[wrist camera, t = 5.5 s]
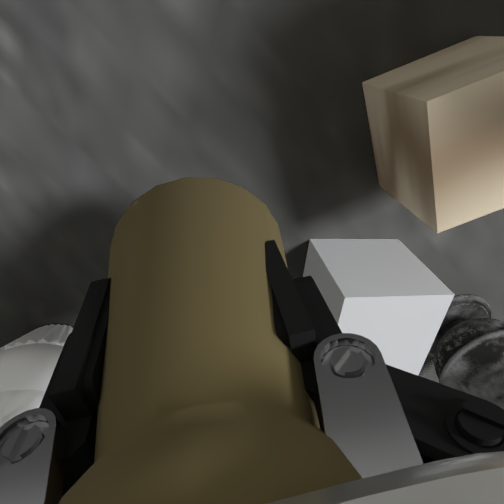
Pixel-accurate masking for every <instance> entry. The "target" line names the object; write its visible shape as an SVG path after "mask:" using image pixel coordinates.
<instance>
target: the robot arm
mask: <svg viewBox="0 0 504 504" xmlns="http://www.w3.org/2000/svg"><path fill="white" fill-rule="evenodd" d="M265 263H266V272H267V275H268V278H269V281H270V285H271V287H272V301H273V316H274V327H275V330H276V333H277V336H278V338H279V339H280V340H281V341H282V342H283V343H284V344H285V345H287V346H288V347H290V348H291V352H292V354H293V355H294V356H295V357H296V358H297V360H298V361H299V362H300V363H301V369H302V375H303V381H304V386H305V390H306V391H307V393H308V394H309V396H310V397H311V399H312V401H313V402H314V404H315V408H316V412H317V417H318V421H319V425H320V430H322V431H323V432H325V433H326V435H327V436H329V437H330V438H332V439H333V440H334V442H335V443H336V444H337V446H338V447H339V448H340V449H341V451H342V452H343V453H344V455H345V456H346V457H347V459H348V460H349V461H350V462H351V464H352V465H353V466H354V468H355V469H356V470H357V471H358V473H359V474H360V475H361V477H362V479H359V480H355V481H351V482H347V483H343V484H339V485H336V486H332V487H328V488H324V489H320V490H316V491H313V492H309V493H305V494H301V495H297V496H293V497H290V498H286V499H282V500H278V501H274V502H270V503H266V504H504V409H502V408H501V407H499V406H498V405H496V404H493V403H491V402H489V401H487V400H485V399H482V398H479V397H476V396H473V395H471V394H468V393H465V392H462V391H459V390H457V389H454V388H451V387H448V386H445V385H443V384H440V383H437V382H434V381H431V380H429V379H426V378H423V377H420V376H417V375H415V374H412V373H409V372H406V371H403V370H401V369H398V368H395V367H392V366H389V365H387V364H385V361H384V359H383V356H382V353H381V352H380V350H379V348H378V347H377V345H376V344H374V343H373V342H372V341H371V340H370V339H368V338H365V337H363V336H361V335H357V334H352V333H342V332H341V330H340V328H339V326H338V324H337V322H336V320H335V318H334V317H333V315H332V313H331V311H330V309H329V307H328V305H327V304H326V302H325V300H324V298H323V296H322V294H321V292H320V291H319V289H318V287H317V285H316V283H315V281H314V279H313V278H312V276H306V277H302V278H297V279H293V280H292V278H291V276H290V273H289V271H288V269H287V267H286V264H285V262H284V260H283V258H282V255H281V253H280V251H279V249H278V247H277V244H276V242H275V240H270V241H266V242H265ZM110 283H111V278H107V279H102V280H98V281H94V282H91V284H90V286H89V289H88V292H87V294H86V297H85V299H84V302H83V305H82V307H81V310H80V312H79V315H78V318H77V320H76V323H75V325H74V328H73V330H72V333H70V334H69V335H68V337H67V339H66V341H65V344H64V346H63V349H62V351H61V354H60V356H59V359H58V361H57V364H56V366H55V369H54V371H53V374H52V377H51V379H50V382H49V384H48V387H47V389H46V392H45V394H44V397H43V399H42V402H41V404H40V407H39V408H35V409H31V410H27V411H25V412H23V413H21V414H19V415H17V416H15V417H13V418H12V419H10V420H9V421H8V422H6V423H5V424H4V425H3V426H2V427H0V504H59V502H60V500H61V498H62V497H63V496H64V495H65V494H66V492H67V491H68V490H69V489H70V488H71V487H72V486H73V485H74V484H75V483H76V482H77V481H78V480H79V479H80V478H81V476H82V475H83V474H84V473H85V472H86V471H87V470H88V469H89V468H90V467H91V466H92V465H93V464H94V456H95V443H96V429H97V416H98V405H99V402H100V394H101V384H102V375H103V366H104V356H105V347H106V338H107V328H108V319H109V301H110Z"/></svg>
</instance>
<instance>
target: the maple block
mask: <svg viewBox="0 0 504 504" xmlns="http://www.w3.org/2000/svg"><path fill="white" fill-rule="evenodd" d="M362 85H363V91H364V97H365V103H366V109H367V115H368V121H369V126H370V132H371V138H372V144H373V150H374V156H375V162H376V168H377V174H378V179H379V185H380V187H381V188H382V189H383V190H385V191H386V192H387V193H388V194H390V195H391V196H392V197H393V198H395V199H396V200H397V201H398V202H400V203H401V204H402V205H403V206H405V207H406V208H407V209H408V210H409V211H411V212H412V213H413V214H414V215H416V216H417V217H418V218H419V219H421V220H422V221H423V222H424V223H426V224H427V225H428V226H429V227H431V228H432V229H433V230H434V231H436V232H437V233H439V232H442V231H445V230H447V229H450V228H453V227H455V226H458V225H460V224H463V223H466V222H468V221H471V220H474V219H476V218H479V217H481V216H484V215H487V214H489V213H492V212H494V211H497V210H500V209H502V208H504V37H501V36H475V37H472V38H470V39H467V40H465V41H462V42H460V43H458V44H455V45H453V46H450V47H448V48H445V49H443V50H440V51H438V52H435V53H433V54H430V55H428V56H426V57H423V58H421V59H418V60H416V61H413V62H411V63H408V64H406V65H403V66H401V67H398V68H396V69H394V70H391V71H389V72H386V73H384V74H381V75H379V76H376V77H374V78H371V79H369V80H366V81H364V82H362Z"/></svg>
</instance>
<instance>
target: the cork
mask: <svg viewBox="0 0 504 504" xmlns="http://www.w3.org/2000/svg"><path fill="white" fill-rule="evenodd" d="M270 240H275V242H276V244H277V247H278V249H279V251H280V253H281V255H282V258H283V260H284V262H285V264H286V267H287V263H286V258H285V253H284V248H283V243H282V239H281V235H280V230H279V226H278V223H277V222H276V220H275V219H274V217H273V216H272V214H271V213H270V211H269V210H268V208H267V207H266V205H265V204H264V203H263V202H262V201H260V200H259V199H258V198H256V197H255V196H254V195H252V194H251V193H250V192H248V191H247V190H246V189H244V188H243V187H240V186H237V185H234V184H231V183H228V182H225V181H222V180H219V179H216V178H182V179H178V180H175V181H171V182H168V183H165V184H161V185H158V186H155V187H154V188H152V189H151V190H149V191H148V192H147V193H145V194H144V195H142V196H141V197H139V198H138V199H136V200H135V201H133V202H132V203H131V205H130V206H129V207H128V209H127V210H126V212H125V213H124V214H123V216H122V217H121V219H120V220H119V221H118V223H117V224H116V227H115V231H114V235H113V239H112V243H111V247H110V255H109V268H108V278H111V283H110V301H109V319H108V328H107V338H106V347H105V356H104V366H103V375H102V384H101V394H100V402H99V405H98V416H97V429H96V443H95V456H94V464H93V465H92V466H91V467H90V468H89V469H88V470H87V471H86V472H85V473H84V474H83V475H82V476H81V478H80V479H79V480H78V481H77V482H76V483H75V484H74V485H73V486H72V487H71V488H70V489H69V490H68V491H67V492H66V494H65V495H64V496H63V497H62V498H61V500H60V502H59V504H266V503H270V502H274V501H278V500H282V499H286V498H290V497H293V496H297V495H301V494H305V493H309V492H313V491H316V490H320V489H324V488H328V487H332V486H336V485H339V484H343V483H347V482H351V481H355V480H359V479H362V477H361V475H360V474H359V473H358V471H357V470H356V469H355V468H354V466H353V465H352V464H351V462H350V461H349V460H348V459H347V457H346V456H345V455H344V453H343V452H342V451H341V449H340V448H339V447H338V446H337V444H336V443H335V442H334V440H333V439H332V438H330V437H329V436H327V435H326V433H325V432H323V431H322V430H320V425H319V421H318V417H317V412H316V408H315V404H314V402H313V401H312V399H311V397H310V396H309V394H308V393H307V391H306V390H305V386H304V381H303V375H302V369H301V363H300V362H299V361H298V360H297V358H296V357H295V356H294V355H293V354H292V352H291V348H290V347H288V346H287V345H285V344H284V343H283V342H282V341H281V340H280V339H279V338H278V336H277V333H276V330H275V327H274V316H273V301H272V287H271V285H270V281H269V278H268V275H267V272H266V263H265V242H266V241H270ZM287 269H288V267H287Z"/></svg>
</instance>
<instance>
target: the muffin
mask: <svg viewBox="0 0 504 504" xmlns="http://www.w3.org/2000/svg"><path fill="white" fill-rule="evenodd" d="M72 330H73V328H72V327H71V326H67V325H65V324H64V325H60V324H57V325H54V324H51V325H49V326H48V325H45V326H43V327H39V328H37V329H35V330H33V331H31V332H29V333H27V334H25V335H23V336H22V337H20V338H18V339H16V340H14V341H12V342H10V343H8V344H7V345H5V346H3V347H1V348H0V427H2V426H3V425H4V424H5V423H6V422H8V421H9V420H10V419H12V418H13V417H15V416H17V415H19V414H21V413H23V412H25V411H27V410H31V409H35V408H39V407H40V404H41V402H42V399H43V397H44V394H45V392H46V389H47V387H48V384H49V382H50V379H51V377H52V374H53V371H54V369H55V366H56V364H57V361H58V359H59V356H60V354H61V351H62V349H63V346H64V344H65V341H66V339H67V337H68V335H69V334H70V333H72Z"/></svg>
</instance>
